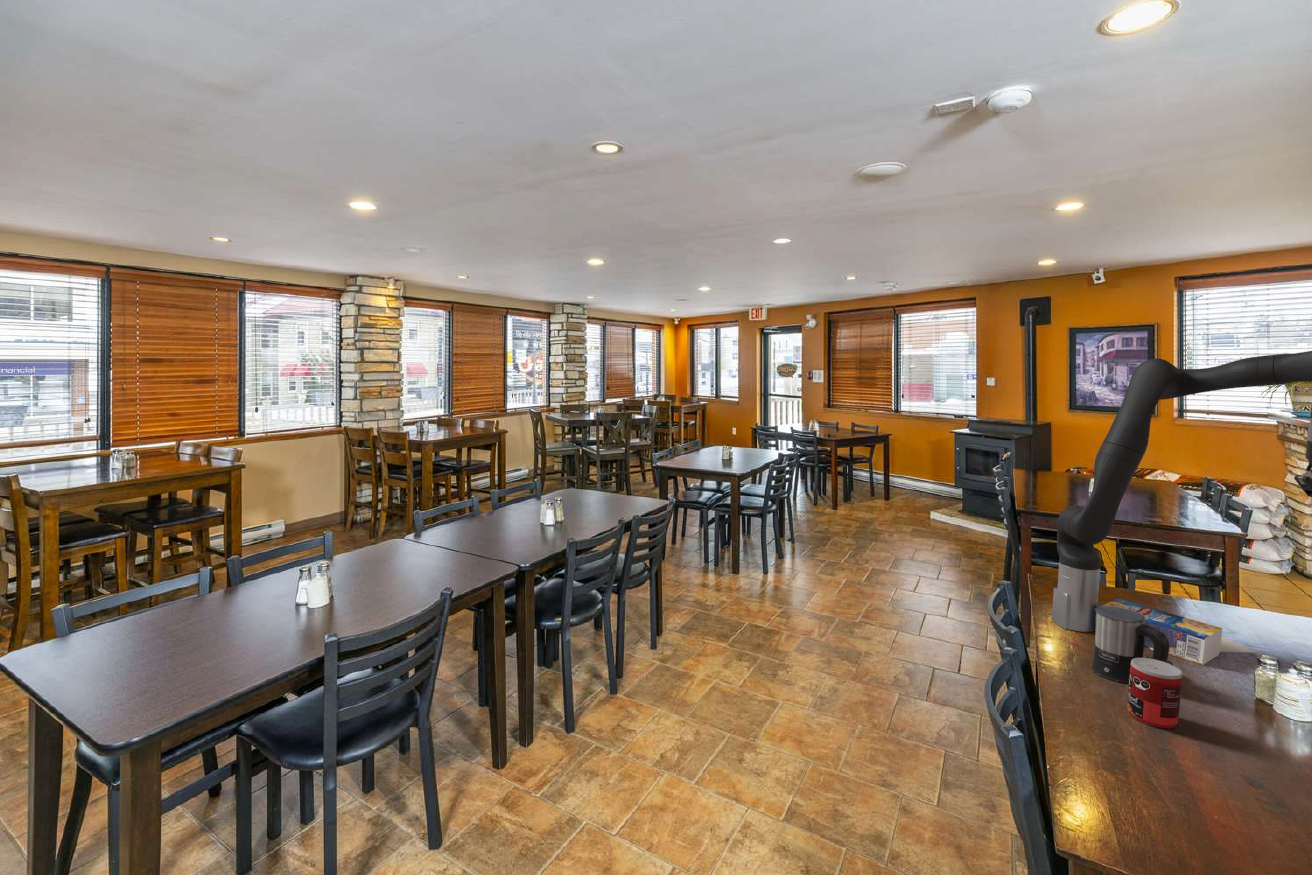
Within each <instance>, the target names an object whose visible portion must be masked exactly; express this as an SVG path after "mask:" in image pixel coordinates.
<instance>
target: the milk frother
mask: <svg viewBox="0 0 1312 875" xmlns="http://www.w3.org/2000/svg"><path fill="white" fill-rule="evenodd" d="M1095 610H1096V612H1097V618H1096V629H1095V634H1094V635H1095V637H1094V638H1095V639H1094V655H1093V662H1092V665H1091V669H1092V671H1093V672H1094V673H1095V674H1096V675H1098V676H1099V677H1102V678H1104V679H1107V680H1110V681H1114V682H1118V683H1124V684H1129V676H1130V666H1131V660H1132V659H1134V658H1149V659H1155V660H1159V661H1162V662H1165V663H1168V664H1171V665H1173V666H1175V665H1174V663H1173V661H1171V660H1168V658H1169V654H1168V653H1169V641H1168V639H1167V637H1166V636H1165V635H1164V634H1163V633H1162V632H1161V631H1159V630H1158V629H1156V628H1154V627H1151V626H1148V625H1145V624H1144V620H1145V619H1146V617H1145V616H1144V615H1142V614H1141V613H1139V612H1136V611H1133V610H1130V609H1126V608H1121V607H1114V606H1101V605H1099V606H1097V607H1096V609H1095ZM1145 636H1146V637H1148V638H1150V639H1151V640H1152V641H1153V643H1154V650H1152V651H1153V654H1152V657H1149V656H1148V655H1145V656H1144V648H1145V646H1144V637H1145Z"/></svg>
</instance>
